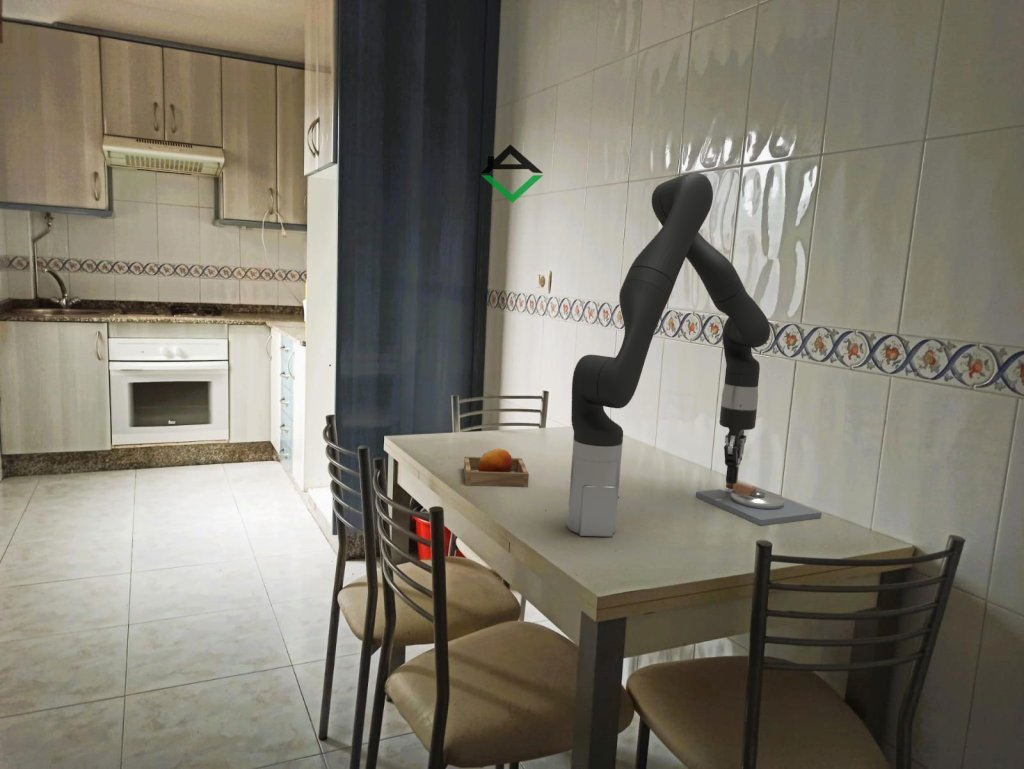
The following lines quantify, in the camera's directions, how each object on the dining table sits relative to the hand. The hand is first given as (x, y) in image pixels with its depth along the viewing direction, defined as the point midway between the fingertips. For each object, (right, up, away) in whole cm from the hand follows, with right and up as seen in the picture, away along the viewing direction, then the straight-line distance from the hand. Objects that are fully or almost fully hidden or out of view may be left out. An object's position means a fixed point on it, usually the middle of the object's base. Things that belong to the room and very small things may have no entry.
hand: (731, 482), depth 164 cm
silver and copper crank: (+4, -4, -1) cm, 6 cm away
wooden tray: (-52, 0, +10) cm, 53 cm away
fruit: (-52, 0, +10) cm, 53 cm away
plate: (+5, -5, -2) cm, 7 cm away
